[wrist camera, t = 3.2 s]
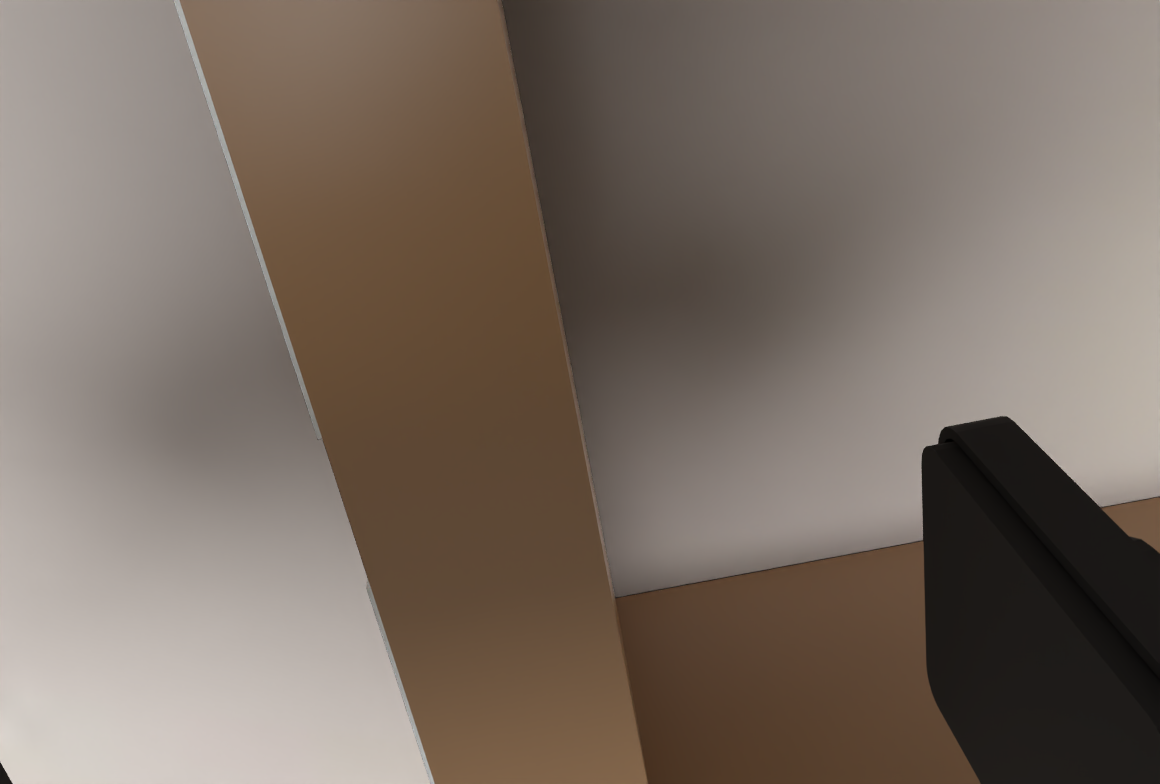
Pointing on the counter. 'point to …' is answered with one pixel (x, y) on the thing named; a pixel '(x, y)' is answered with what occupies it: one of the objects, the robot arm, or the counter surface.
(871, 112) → the counter surface
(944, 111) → the counter surface
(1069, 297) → the counter surface
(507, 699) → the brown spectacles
